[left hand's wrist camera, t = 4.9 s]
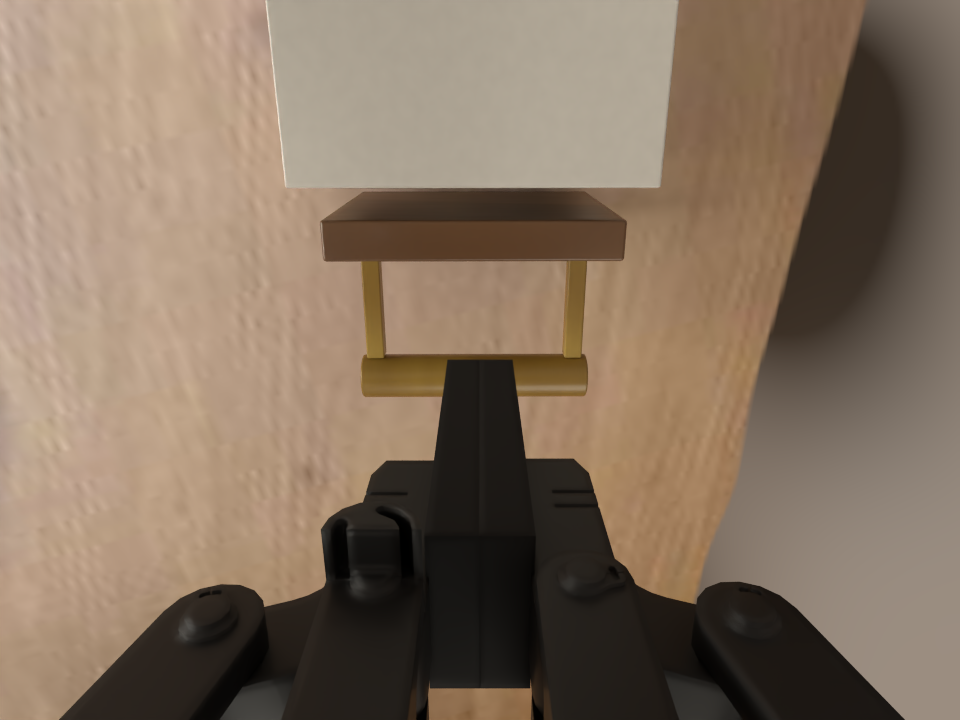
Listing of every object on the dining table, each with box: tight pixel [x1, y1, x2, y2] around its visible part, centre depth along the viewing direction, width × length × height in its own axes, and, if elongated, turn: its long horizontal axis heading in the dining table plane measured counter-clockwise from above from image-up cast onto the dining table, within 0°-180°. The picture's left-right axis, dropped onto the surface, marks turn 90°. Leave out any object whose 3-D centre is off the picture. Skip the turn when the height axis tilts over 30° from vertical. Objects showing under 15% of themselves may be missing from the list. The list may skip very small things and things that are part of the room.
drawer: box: [320, 192, 627, 397], centre depth 20 cm, size 22×9×7 cm, turn 0°
